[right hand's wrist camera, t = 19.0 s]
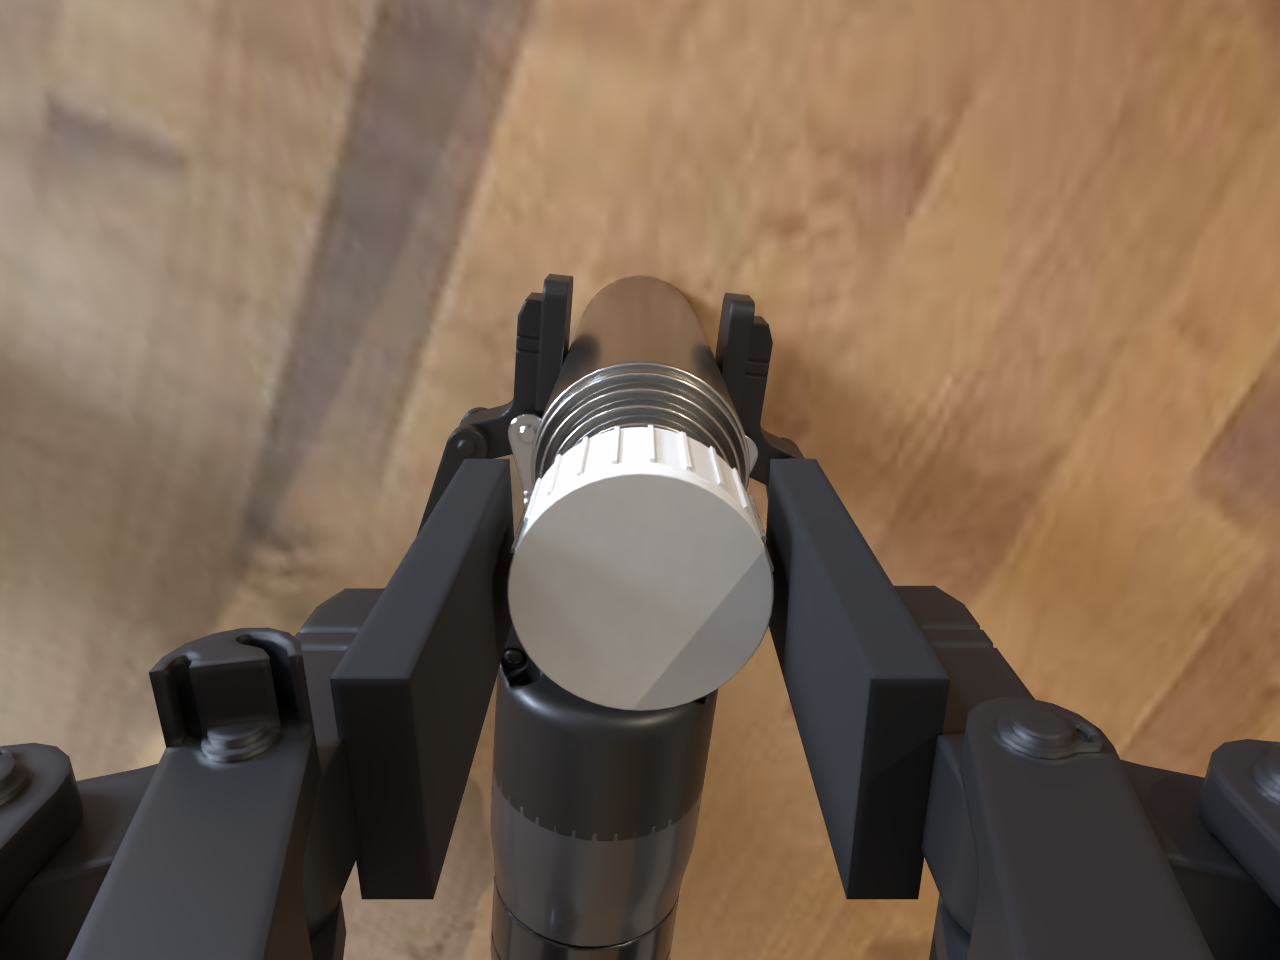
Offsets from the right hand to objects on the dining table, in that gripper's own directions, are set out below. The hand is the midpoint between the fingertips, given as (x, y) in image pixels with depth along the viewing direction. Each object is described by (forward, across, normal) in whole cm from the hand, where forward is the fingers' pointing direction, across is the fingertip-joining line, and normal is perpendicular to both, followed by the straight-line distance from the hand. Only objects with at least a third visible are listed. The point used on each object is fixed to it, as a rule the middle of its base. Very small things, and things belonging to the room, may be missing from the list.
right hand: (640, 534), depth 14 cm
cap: (-2, 0, 0) cm, 2 cm away
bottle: (+18, 0, 0) cm, 18 cm away
